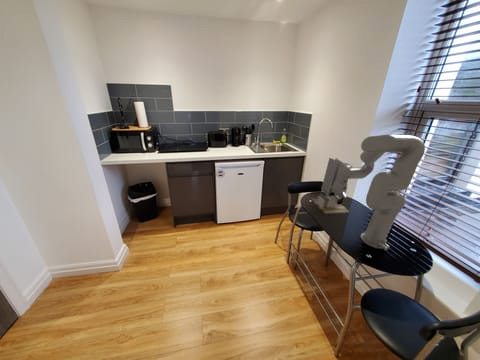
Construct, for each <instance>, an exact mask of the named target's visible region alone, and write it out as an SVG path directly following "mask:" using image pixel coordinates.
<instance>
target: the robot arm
mask: <svg viewBox="0 0 480 360" xmlns="http://www.w3.org/2000/svg"><path fill="white" fill-rule="evenodd" d="M360 148H361V150H362V151H363V152H362V153H361V154H360V157H359V158H360V160H361V162H363V163H364V164H363V165H362V166H361V167H354V166H353V165H352V164H350V163H346V162H343V163H342V164H341V165H340V167H339V171H338V174H337V177H336V180H335V182H334V184H333V186H330V187H331V189H330V190H331V191H330V195H329V196H334V194H335V196H338V197H339V200H338V203H337V204H338V205H340V204H341V205H343V201H344V200H346V199H347V190H348V181H349V180H351V179H352V180H353V179H354V180H355V179H356V180H358V179H359V180H362V179H364V178H367V177H368V176H369V175H370V174H371V173H372V172H373V171H374V169H375V163H376V162H377V161H379V159H380V158H381V157H382V156H383V155H385V154H386V153H396V154H398V153H400V154H401V155H400V156H399V157H397V159H395V161H394V163H393V165H392V168H391V170H389V171H380V172H378V173H376V174H375V175H374V176H373V178H372V180H371V182H370V185H369V187H368V191H367V194H366V196H365V197H366V198H365V202H366V205H367V207H368V208H369V209H371V210H373V212H372V214H371V215H372V216H371V218H370V219H369V223H368V225H367V227H366V229H365V231H364V232H362V233H360V239H361V240H362V241H363V243H364V244H366V245H368V246H370V247H372V248H375V249H381V250H384V251H388V250H389V248H390V247H391V246H390V245H389V244H387V241H388V240H387V236H388V234H389V232H390V230H391V229H392V227H393V224H394V222H395V221H396V218H397V216H398V214H399V213H400V212H401V211H402V210H403V208H404V207H405V204H406V198H405V196H404V195H403V194H402V193H400V192H399V191H405V190H406V189H408V187H409V185H410V183H411V181H412V179H413V177H414V175H415V173H416V170H417V167H418V166H419V163H420V162H421V160H422V158H423V157H424V155H425V150H426V146H425V143H424V141H423V140H422V139H421V138H419V137H418V136H415V135H411V134H410V135H409V134H380V135H372V136H367V137H366V138H364V139H363V141H362V142H361V145H360Z"/></svg>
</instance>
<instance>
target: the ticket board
mask: <svg viewBox="0 0 480 360" xmlns="http://www.w3.org/2000/svg"><path fill="white" fill-rule="evenodd" d="M311 201H312V203H314V204H315V206H317V207H318V208H319V210H321V211H322V212H323V213H324V214H325V215H327V214H331V215H332V214H349V213H350V210H348V209H347V208H346V207H345V206H344V205H343V204H341V205H340V207H326V209H325V208H324V207H320V206H319V205H318V204H317V201H318V198H312V199H311Z"/></svg>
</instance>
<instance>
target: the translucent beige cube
mask: <svg viewBox="0 0 480 360" xmlns="http://www.w3.org/2000/svg"><path fill="white" fill-rule="evenodd" d="M329 196H330V195H329ZM330 197H331V198H333V199H334V203H333V206H332V207H340V205H342V204H340V205H338V204H337V203H338V200H339V196H337V195H335V196H330Z"/></svg>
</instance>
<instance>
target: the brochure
mask: <svg viewBox="0 0 480 360" xmlns="http://www.w3.org/2000/svg"><path fill="white" fill-rule="evenodd" d="M342 163H344V162H343V161H341V160H339V159H338V158H335V159H334V158H331V157H329V158H328V162H327V166H326V170H325V174H324V178H323V181H322V185H321V192H322V194H324V193H325V194H324V196H330V195H329V194H330V191H331V190H330V189H331V187H330V186H333V184H334V182H335V180H336V177H337V174H338V171H339V167H340V165H341V164H342ZM334 196H336V194H334Z"/></svg>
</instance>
